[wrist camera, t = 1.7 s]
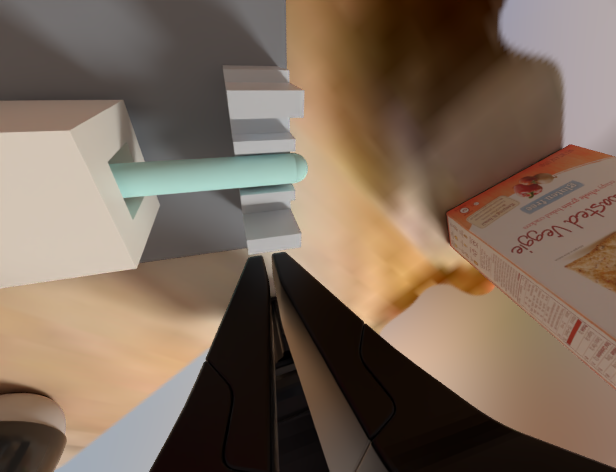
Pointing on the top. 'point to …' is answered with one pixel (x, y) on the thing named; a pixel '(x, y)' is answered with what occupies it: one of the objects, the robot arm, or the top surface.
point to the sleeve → (68, 191)
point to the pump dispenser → (30, 433)
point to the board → (173, 99)
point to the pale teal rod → (207, 174)
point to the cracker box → (552, 248)
